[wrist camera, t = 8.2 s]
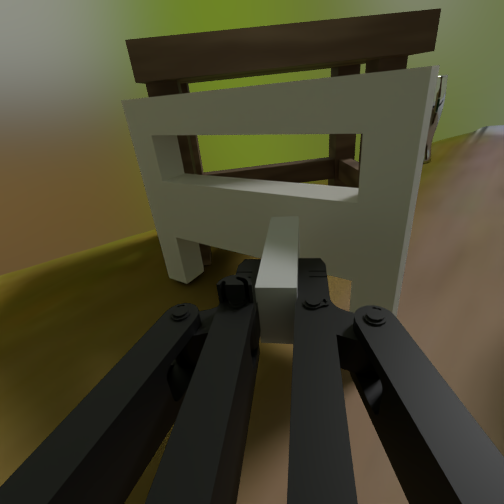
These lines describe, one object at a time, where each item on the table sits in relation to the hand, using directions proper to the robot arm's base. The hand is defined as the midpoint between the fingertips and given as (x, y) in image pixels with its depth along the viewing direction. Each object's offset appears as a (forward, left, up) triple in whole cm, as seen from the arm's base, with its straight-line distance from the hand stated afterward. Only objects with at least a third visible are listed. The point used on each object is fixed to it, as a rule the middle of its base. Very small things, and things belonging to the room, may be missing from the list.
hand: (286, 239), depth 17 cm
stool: (+18, -3, -9) cm, 20 cm away
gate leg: (+6, +1, -8) cm, 10 cm away
